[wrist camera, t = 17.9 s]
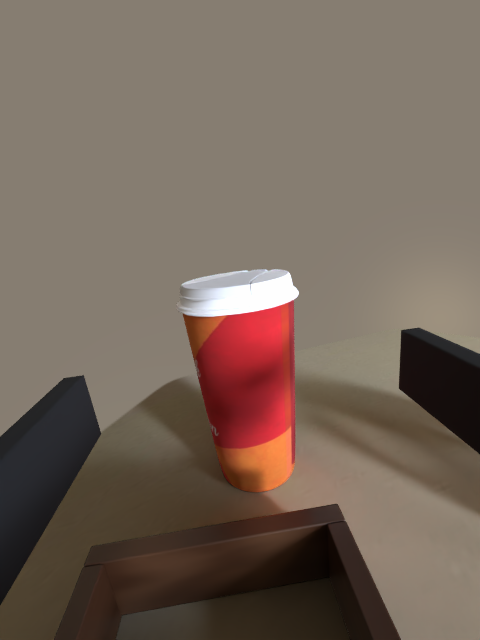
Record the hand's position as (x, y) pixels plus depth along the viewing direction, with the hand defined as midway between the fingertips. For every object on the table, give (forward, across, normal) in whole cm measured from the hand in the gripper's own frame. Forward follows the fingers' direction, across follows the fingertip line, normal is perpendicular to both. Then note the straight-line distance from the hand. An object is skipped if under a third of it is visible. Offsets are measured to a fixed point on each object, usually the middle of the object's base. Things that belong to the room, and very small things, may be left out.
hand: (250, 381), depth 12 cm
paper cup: (+7, 0, -11) cm, 13 cm away
